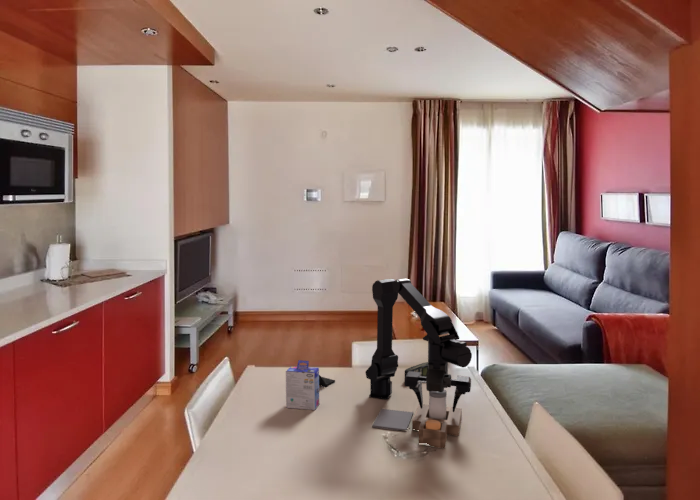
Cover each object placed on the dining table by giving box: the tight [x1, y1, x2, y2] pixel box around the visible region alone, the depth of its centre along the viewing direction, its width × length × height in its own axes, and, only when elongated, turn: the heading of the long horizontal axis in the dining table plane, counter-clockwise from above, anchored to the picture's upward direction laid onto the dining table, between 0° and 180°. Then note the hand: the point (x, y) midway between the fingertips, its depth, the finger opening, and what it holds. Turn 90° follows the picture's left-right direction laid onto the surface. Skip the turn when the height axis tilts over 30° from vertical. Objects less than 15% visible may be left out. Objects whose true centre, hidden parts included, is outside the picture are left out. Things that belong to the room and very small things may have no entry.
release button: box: [426, 420, 441, 430], centre depth 137 cm, size 4×4×4 cm
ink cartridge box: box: [285, 359, 320, 411], centre depth 161 cm, size 10×6×14 cm, turn 79°
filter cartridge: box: [428, 389, 448, 420], centre depth 147 cm, size 5×5×10 cm
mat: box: [371, 408, 414, 431], centre depth 150 cm, size 10×12×1 cm
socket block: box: [411, 403, 463, 449], centre depth 143 cm, size 13×20×4 cm, turn 164°
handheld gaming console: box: [319, 374, 336, 388], centre depth 181 cm, size 12×7×10 cm
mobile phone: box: [404, 361, 428, 377], centre depth 186 cm, size 5×3×15 cm
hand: (437, 409), depth 147 cm, fingers open, 9 cm apart
